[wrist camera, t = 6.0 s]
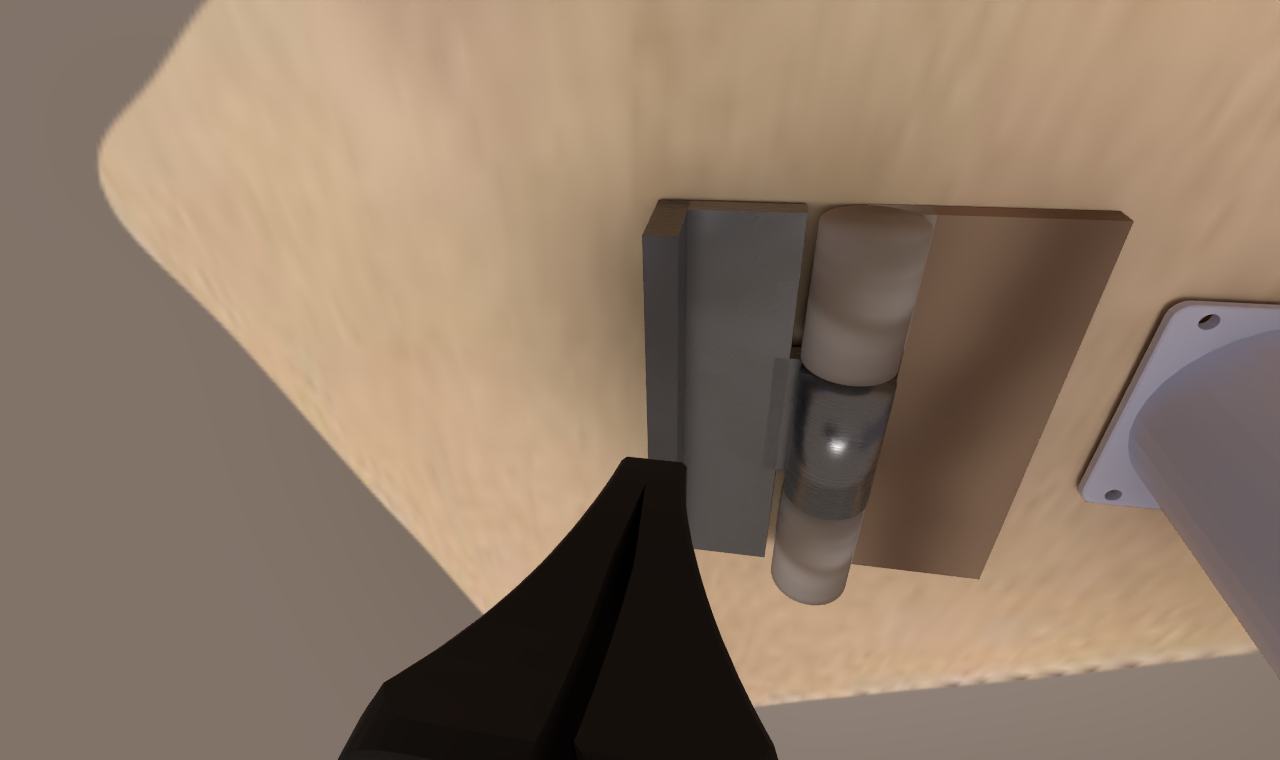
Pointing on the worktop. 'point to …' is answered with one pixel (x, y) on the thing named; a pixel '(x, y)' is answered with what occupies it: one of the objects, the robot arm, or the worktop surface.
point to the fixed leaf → (942, 372)
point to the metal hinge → (746, 375)
